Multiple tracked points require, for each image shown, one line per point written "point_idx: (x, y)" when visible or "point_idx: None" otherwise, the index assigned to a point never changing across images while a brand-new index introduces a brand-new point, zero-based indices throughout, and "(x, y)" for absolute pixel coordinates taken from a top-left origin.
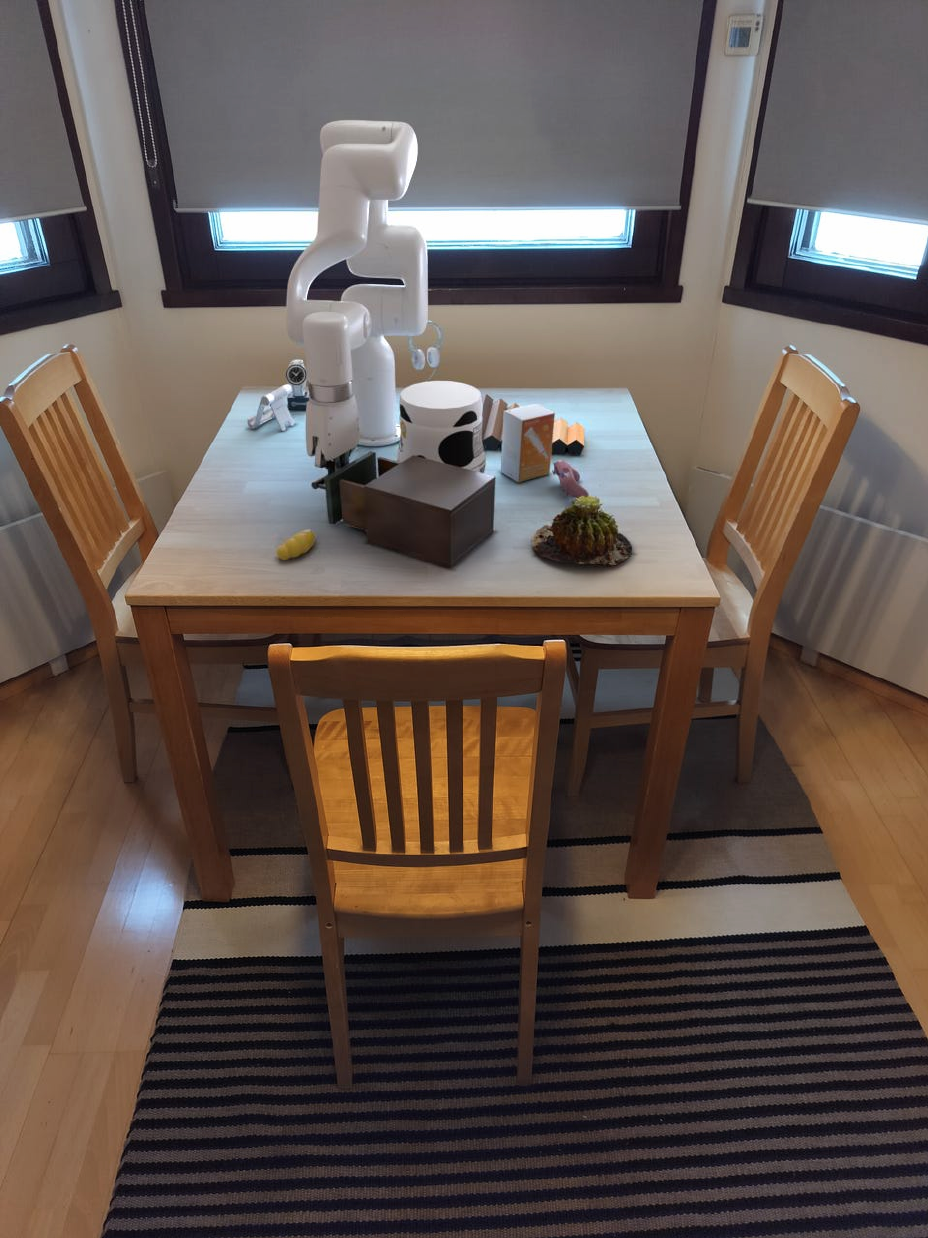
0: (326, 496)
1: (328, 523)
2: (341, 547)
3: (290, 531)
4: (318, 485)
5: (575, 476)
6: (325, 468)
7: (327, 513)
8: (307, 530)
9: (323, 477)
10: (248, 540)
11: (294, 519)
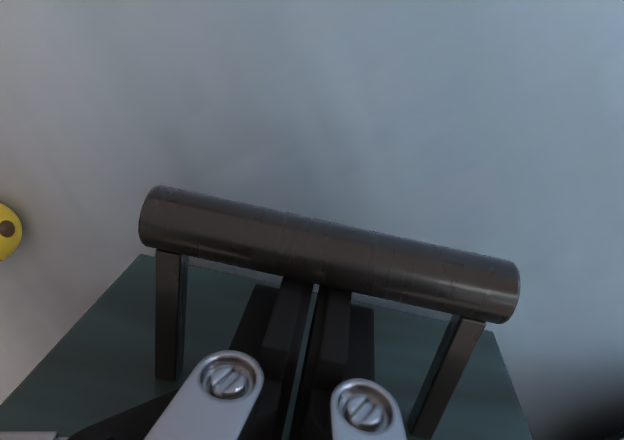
0: (44, 360)
1: (139, 255)
2: (65, 330)
3: (32, 90)
4: (157, 251)
5: None
6: (204, 360)
7: (112, 284)
8: None
9: (252, 261)
10: None
11: (138, 42)
